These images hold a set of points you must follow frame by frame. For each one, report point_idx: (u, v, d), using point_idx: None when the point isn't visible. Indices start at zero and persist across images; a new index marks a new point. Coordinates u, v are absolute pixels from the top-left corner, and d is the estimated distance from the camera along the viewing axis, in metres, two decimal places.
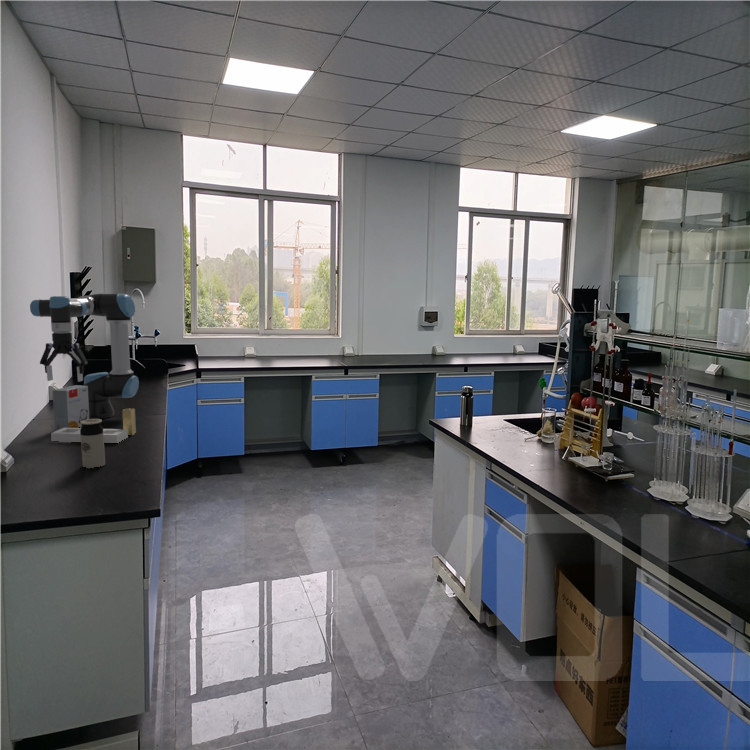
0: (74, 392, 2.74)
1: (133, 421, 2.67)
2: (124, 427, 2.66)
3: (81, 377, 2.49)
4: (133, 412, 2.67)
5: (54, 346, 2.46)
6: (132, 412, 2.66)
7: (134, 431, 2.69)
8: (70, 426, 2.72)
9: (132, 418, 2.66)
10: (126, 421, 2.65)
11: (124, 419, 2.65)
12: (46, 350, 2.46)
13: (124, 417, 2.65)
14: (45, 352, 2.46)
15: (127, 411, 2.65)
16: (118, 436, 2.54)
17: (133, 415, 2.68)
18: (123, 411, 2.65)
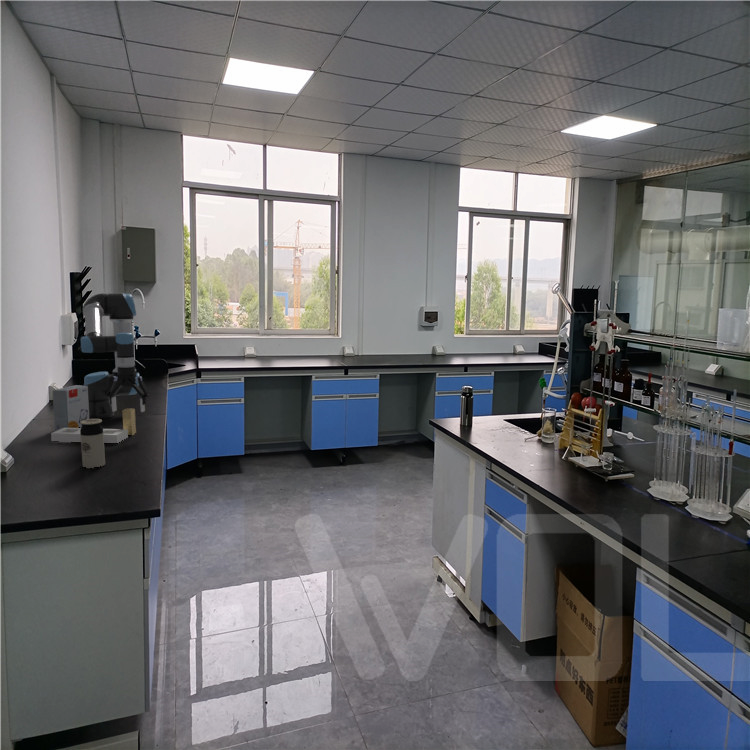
0: (74, 392, 2.74)
1: (133, 421, 2.67)
2: (124, 427, 2.66)
3: (143, 408, 2.66)
4: (133, 412, 2.67)
5: (119, 379, 2.63)
6: (132, 412, 2.66)
7: (134, 431, 2.69)
8: (70, 426, 2.72)
9: (132, 418, 2.66)
10: (126, 421, 2.65)
11: (124, 419, 2.65)
12: (111, 383, 2.64)
13: (124, 417, 2.65)
14: (110, 385, 2.64)
15: (127, 411, 2.65)
16: (118, 436, 2.54)
17: (133, 415, 2.68)
18: (123, 411, 2.65)
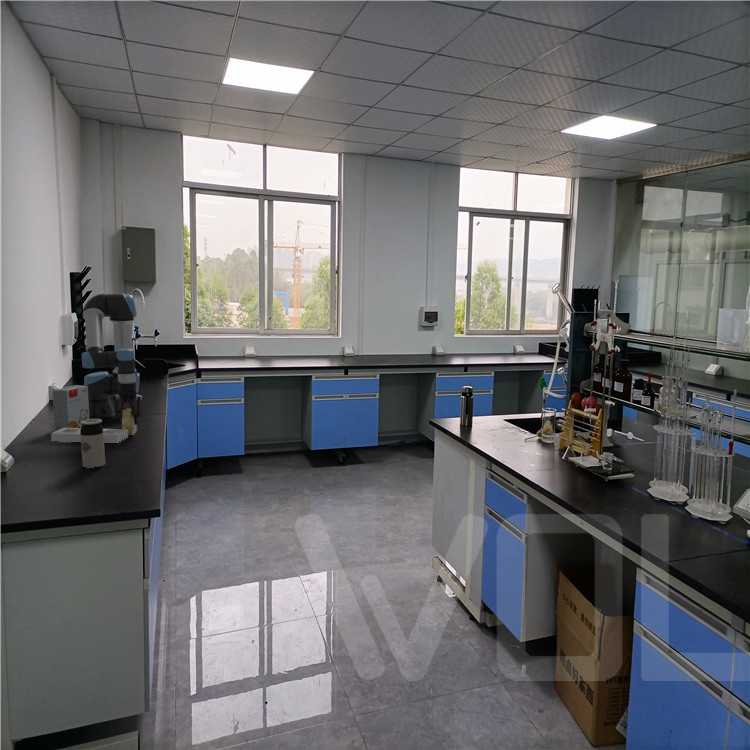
0: (74, 392, 2.74)
1: None
2: (124, 427, 2.66)
3: (135, 427, 2.68)
4: None
5: (120, 395, 2.65)
6: None
7: None
8: (70, 426, 2.72)
9: None
10: (126, 421, 2.65)
11: (124, 419, 2.65)
12: (116, 402, 2.65)
13: (124, 417, 2.65)
14: (116, 404, 2.65)
15: (127, 411, 2.65)
16: (118, 436, 2.54)
17: None
18: (123, 411, 2.65)
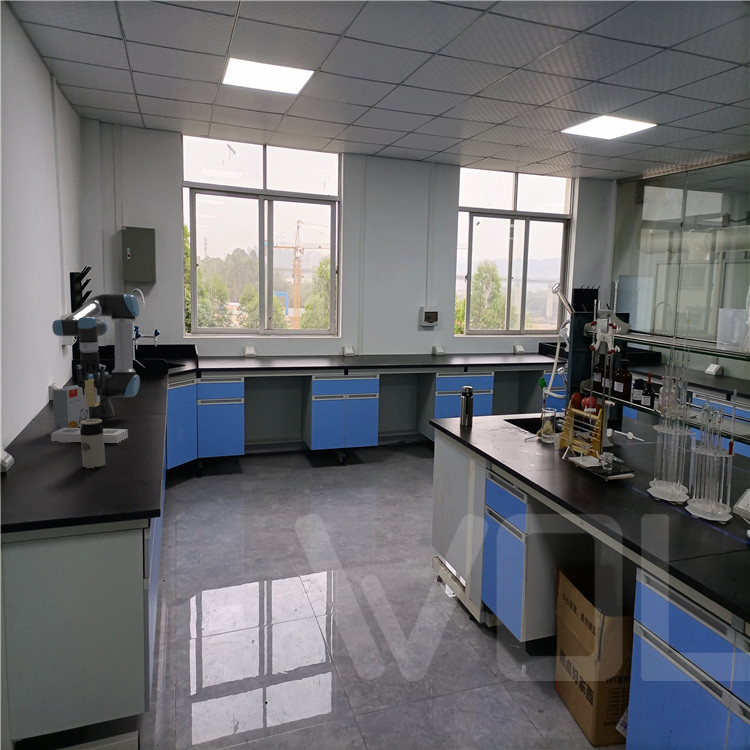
0: (74, 392, 2.74)
1: None
2: (87, 398, 2.58)
3: (98, 398, 2.60)
4: None
5: (82, 364, 2.56)
6: None
7: None
8: (70, 426, 2.72)
9: None
10: (89, 392, 2.57)
11: (87, 390, 2.57)
12: (77, 372, 2.57)
13: (87, 387, 2.57)
14: (78, 374, 2.57)
15: (90, 381, 2.56)
16: (118, 436, 2.54)
17: None
18: (85, 381, 2.56)
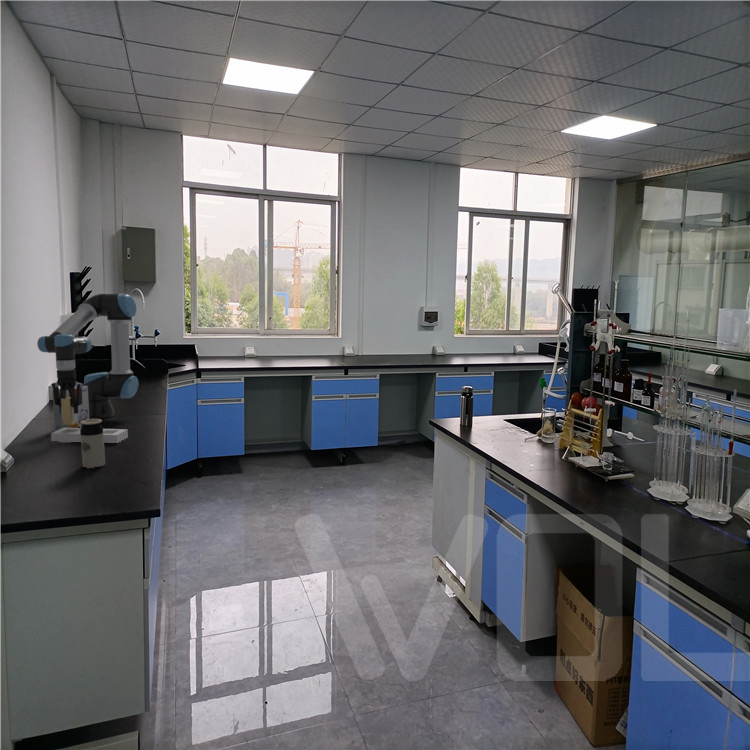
0: None
1: None
2: (63, 416, 2.55)
3: (75, 417, 2.57)
4: None
5: (59, 382, 2.54)
6: None
7: None
8: (70, 426, 2.72)
9: None
10: (65, 410, 2.54)
11: (63, 408, 2.54)
12: (54, 390, 2.54)
13: (63, 406, 2.54)
14: (54, 392, 2.54)
15: (66, 399, 2.54)
16: (118, 436, 2.54)
17: None
18: (62, 399, 2.54)
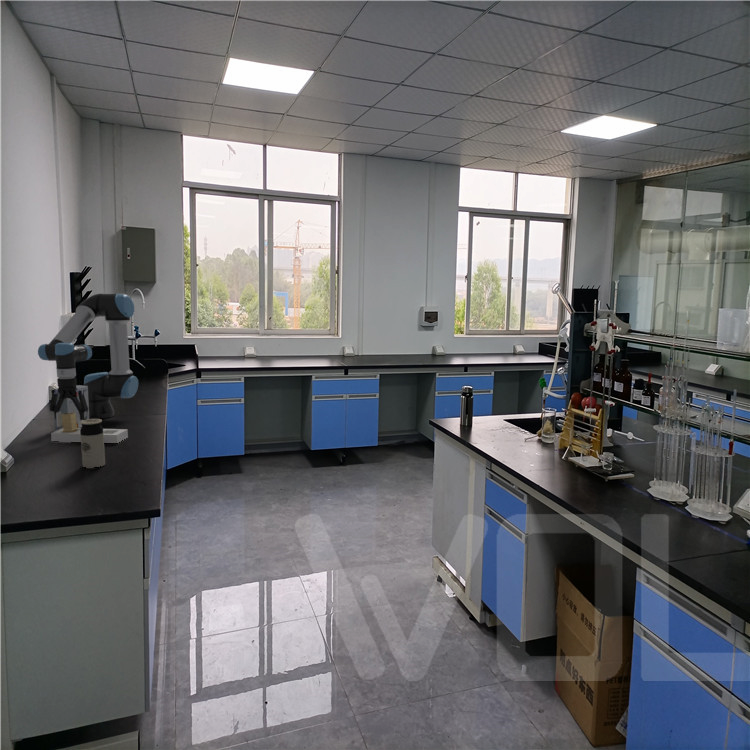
0: None
1: (74, 425, 2.58)
2: None
3: None
4: (73, 416, 2.57)
5: (59, 391, 2.54)
6: (72, 416, 2.56)
7: None
8: None
9: (72, 422, 2.57)
10: (66, 425, 2.56)
11: (64, 423, 2.56)
12: (53, 396, 2.55)
13: (64, 421, 2.55)
14: (52, 398, 2.55)
15: (67, 415, 2.55)
16: (118, 436, 2.54)
17: (74, 419, 2.58)
18: (62, 415, 2.55)
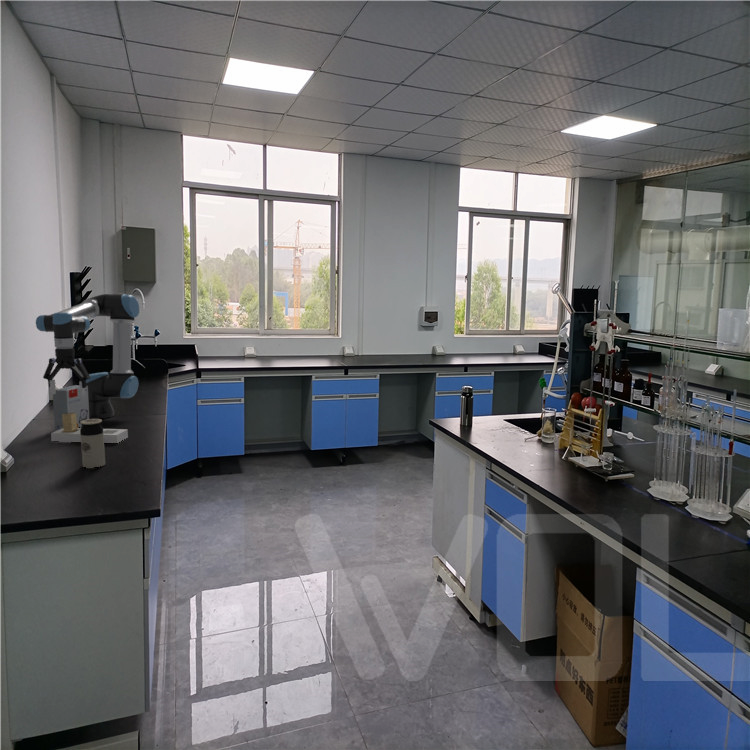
0: (74, 392, 2.74)
1: (74, 426, 2.58)
2: None
3: (83, 391, 2.55)
4: (74, 417, 2.58)
5: (57, 361, 2.52)
6: (73, 416, 2.56)
7: None
8: None
9: (73, 422, 2.57)
10: (66, 425, 2.56)
11: (64, 423, 2.56)
12: (49, 365, 2.52)
13: (64, 421, 2.55)
14: (48, 367, 2.53)
15: (67, 415, 2.55)
16: (118, 436, 2.54)
17: (74, 419, 2.58)
18: (63, 415, 2.55)
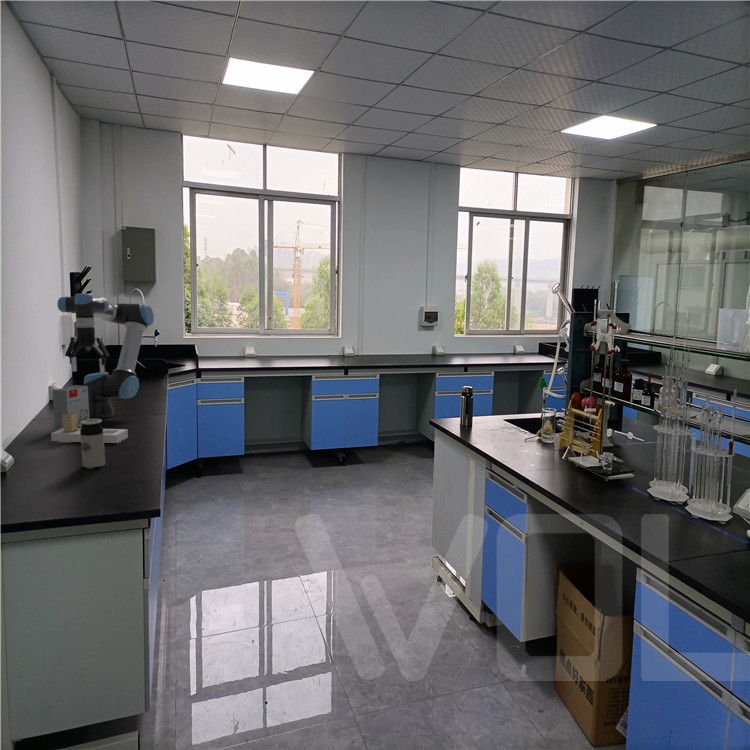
0: (74, 392, 2.74)
1: (74, 426, 2.58)
2: None
3: (103, 368, 2.70)
4: (74, 417, 2.58)
5: (78, 339, 2.66)
6: (73, 416, 2.56)
7: None
8: None
9: (73, 422, 2.57)
10: (66, 425, 2.56)
11: (64, 423, 2.56)
12: (71, 343, 2.67)
13: (64, 421, 2.55)
14: (70, 345, 2.67)
15: (67, 415, 2.55)
16: (118, 436, 2.54)
17: (74, 419, 2.58)
18: (63, 415, 2.55)
